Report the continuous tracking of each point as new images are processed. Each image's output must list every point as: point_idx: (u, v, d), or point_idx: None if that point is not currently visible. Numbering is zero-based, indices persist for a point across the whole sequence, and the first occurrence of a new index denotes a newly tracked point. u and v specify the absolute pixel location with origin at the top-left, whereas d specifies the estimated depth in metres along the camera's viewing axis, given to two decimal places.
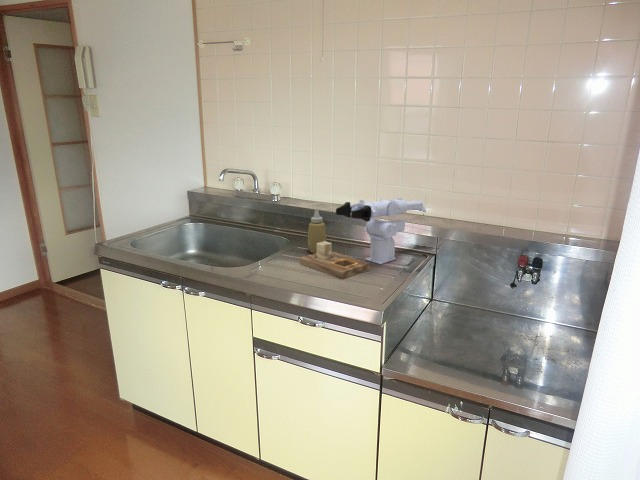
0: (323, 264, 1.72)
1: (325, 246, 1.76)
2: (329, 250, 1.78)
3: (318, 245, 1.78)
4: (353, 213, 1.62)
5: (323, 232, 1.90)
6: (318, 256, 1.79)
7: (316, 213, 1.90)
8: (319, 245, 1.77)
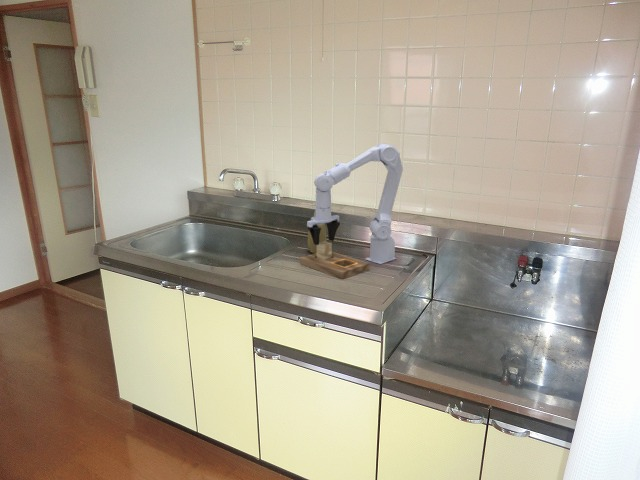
0: (323, 264, 1.72)
1: (325, 246, 1.76)
2: (329, 250, 1.78)
3: (318, 245, 1.78)
4: (314, 243, 1.76)
5: (323, 232, 1.90)
6: (318, 256, 1.79)
7: None
8: (319, 245, 1.77)
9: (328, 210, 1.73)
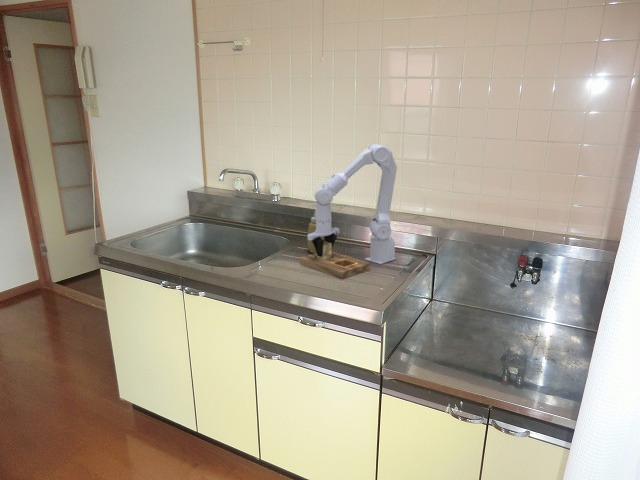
0: (323, 264, 1.72)
1: (325, 246, 1.76)
2: (329, 250, 1.78)
3: None
4: (318, 255, 1.78)
5: None
6: (318, 256, 1.79)
7: None
8: None
9: (328, 223, 1.74)
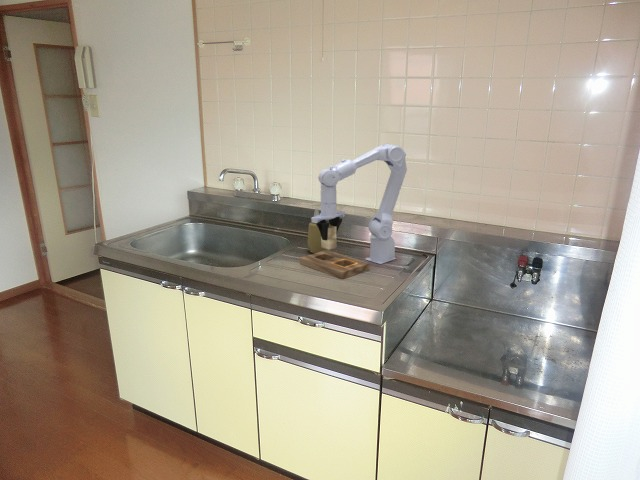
0: (323, 264, 1.72)
1: (330, 229, 1.73)
2: (334, 234, 1.74)
3: None
4: (322, 238, 1.74)
5: None
6: (323, 240, 1.75)
7: (316, 213, 1.90)
8: None
9: (333, 206, 1.70)
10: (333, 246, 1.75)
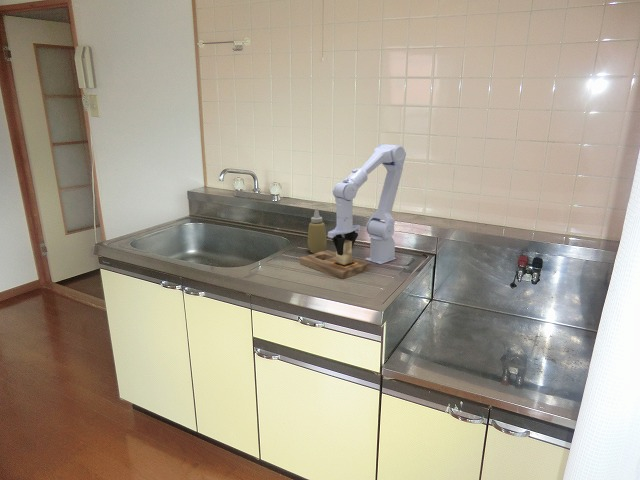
0: (323, 264, 1.72)
1: (345, 244, 1.68)
2: (349, 248, 1.70)
3: None
4: (338, 253, 1.69)
5: (323, 232, 1.90)
6: (338, 255, 1.71)
7: (316, 213, 1.90)
8: None
9: (350, 220, 1.65)
10: (349, 260, 1.71)
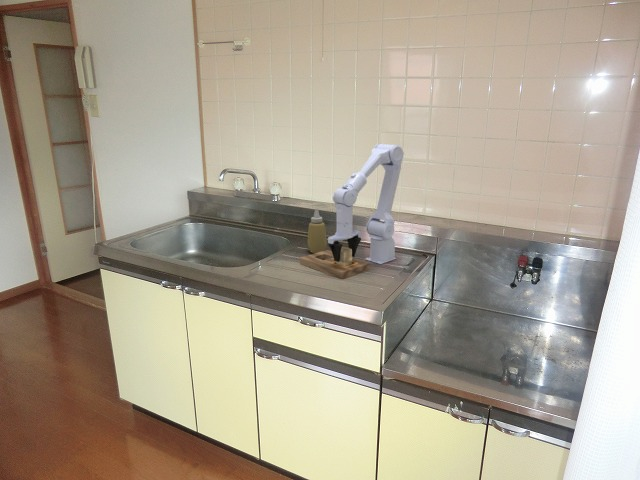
0: (323, 264, 1.72)
1: (346, 252, 1.69)
2: (349, 256, 1.71)
3: None
4: (335, 260, 1.69)
5: (323, 232, 1.90)
6: (338, 263, 1.71)
7: (316, 213, 1.90)
8: None
9: (349, 226, 1.66)
10: None
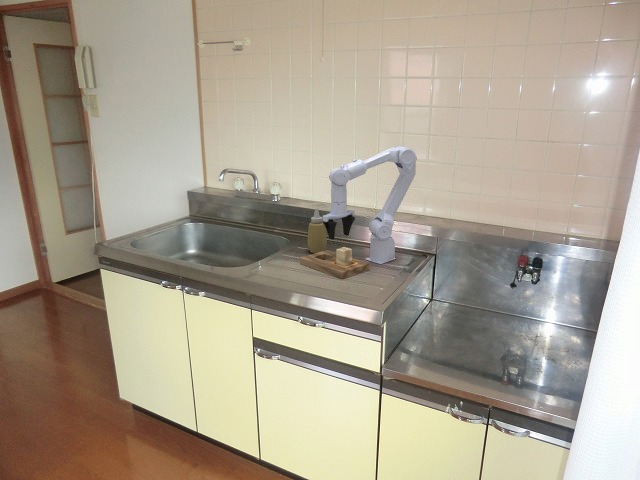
0: (323, 264, 1.72)
1: (346, 252, 1.69)
2: (349, 256, 1.71)
3: (338, 251, 1.70)
4: (329, 238, 1.75)
5: (323, 232, 1.90)
6: (338, 263, 1.71)
7: (316, 213, 1.90)
8: (339, 251, 1.70)
9: (344, 204, 1.72)
10: None
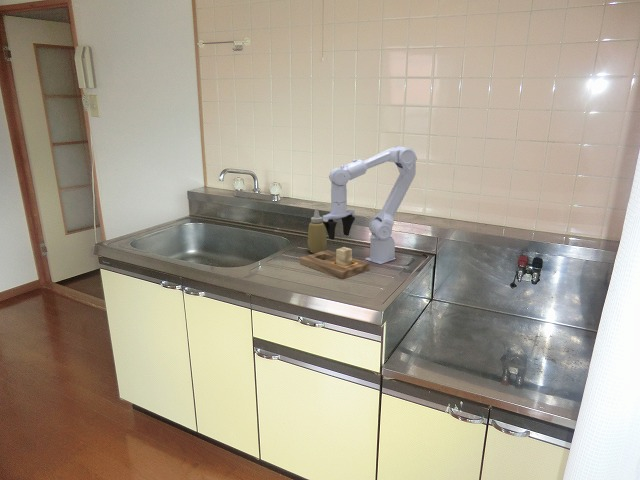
0: (323, 264, 1.72)
1: (346, 252, 1.69)
2: (349, 256, 1.71)
3: (338, 251, 1.70)
4: (329, 238, 1.75)
5: (323, 232, 1.90)
6: (338, 263, 1.71)
7: (316, 213, 1.90)
8: (339, 251, 1.70)
9: (344, 204, 1.72)
10: None
